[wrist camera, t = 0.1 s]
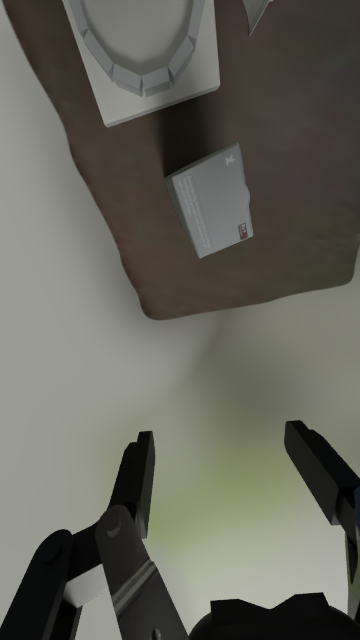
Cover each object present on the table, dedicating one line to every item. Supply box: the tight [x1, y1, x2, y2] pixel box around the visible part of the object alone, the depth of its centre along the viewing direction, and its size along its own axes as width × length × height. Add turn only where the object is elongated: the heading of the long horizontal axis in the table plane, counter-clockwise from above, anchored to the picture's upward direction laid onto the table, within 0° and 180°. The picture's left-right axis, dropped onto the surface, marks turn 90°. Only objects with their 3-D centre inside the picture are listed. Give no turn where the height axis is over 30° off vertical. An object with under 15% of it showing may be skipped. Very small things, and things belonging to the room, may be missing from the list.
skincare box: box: [165, 141, 253, 258], centre depth 25 cm, size 8×7×16 cm
